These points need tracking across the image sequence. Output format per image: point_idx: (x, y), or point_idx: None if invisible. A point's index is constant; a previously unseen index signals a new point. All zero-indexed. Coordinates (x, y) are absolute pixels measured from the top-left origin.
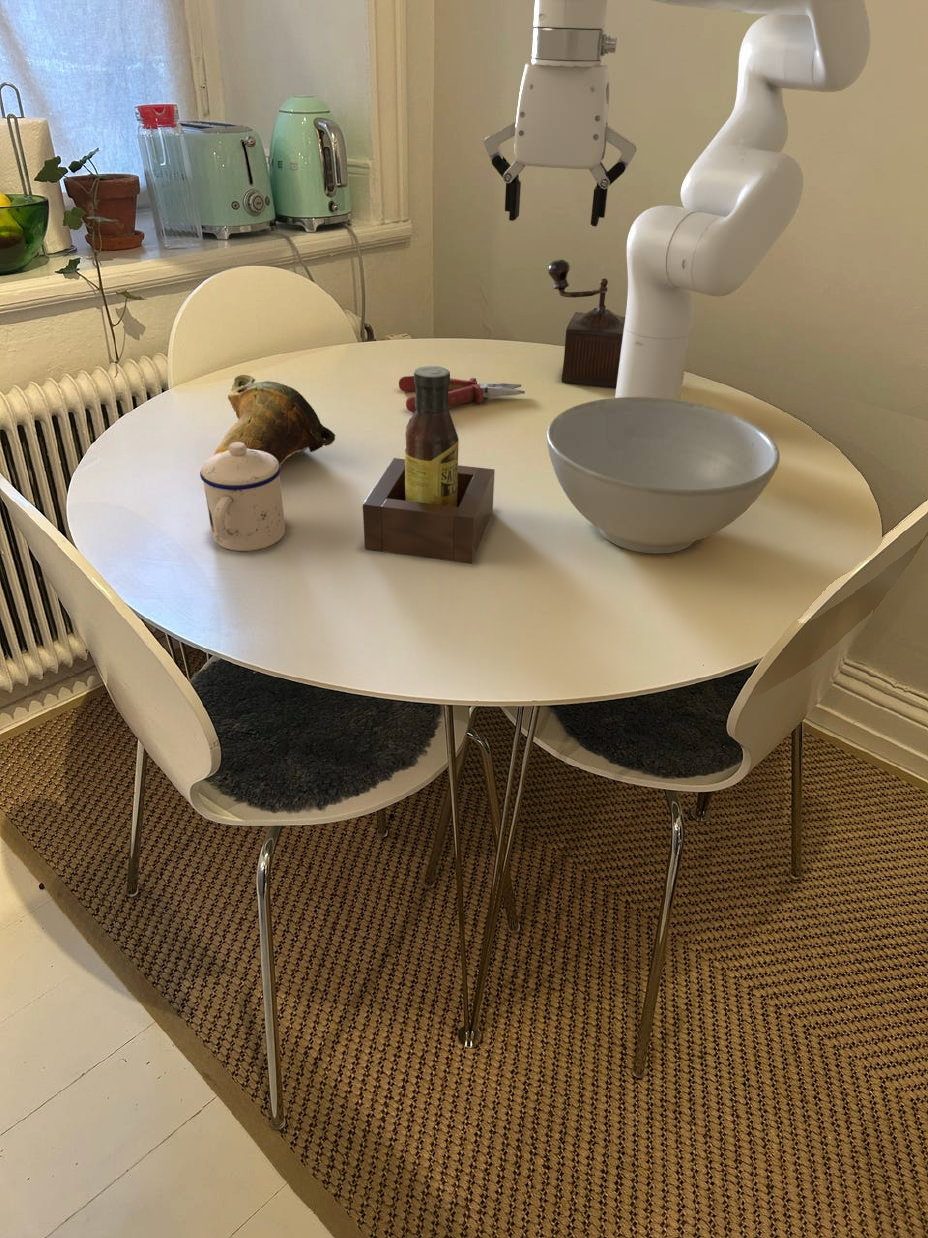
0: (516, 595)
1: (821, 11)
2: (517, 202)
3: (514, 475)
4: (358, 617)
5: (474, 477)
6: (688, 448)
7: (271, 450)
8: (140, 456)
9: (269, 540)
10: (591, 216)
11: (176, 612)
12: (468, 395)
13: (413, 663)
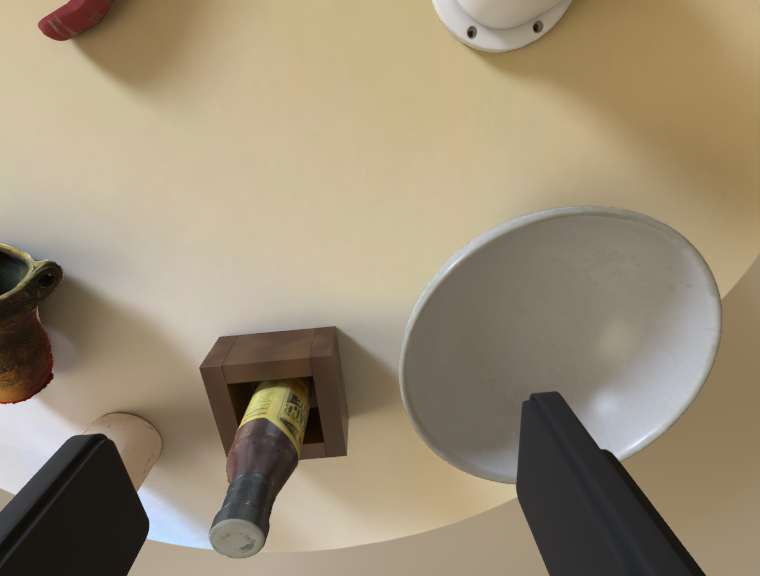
0: (400, 445)
1: None
2: (90, 569)
3: (331, 226)
4: (291, 502)
5: (316, 381)
6: (588, 225)
7: (27, 358)
8: None
9: (158, 456)
10: (531, 528)
11: (162, 533)
12: None
13: (351, 527)
